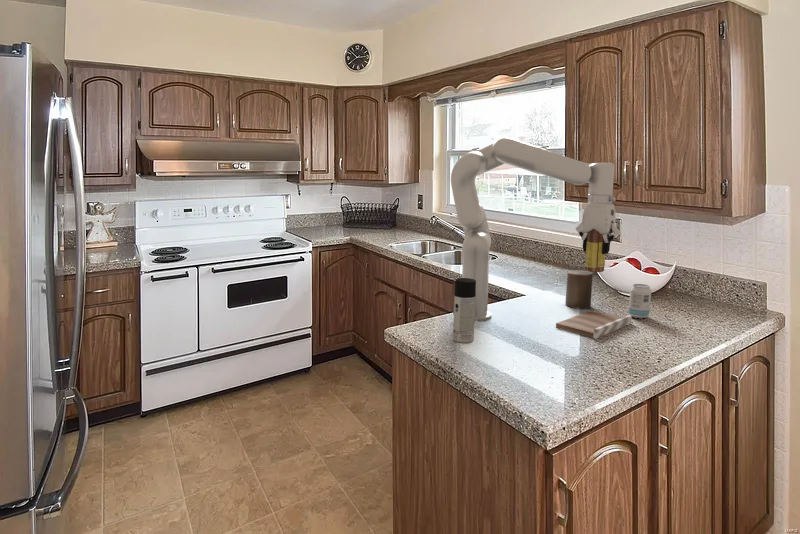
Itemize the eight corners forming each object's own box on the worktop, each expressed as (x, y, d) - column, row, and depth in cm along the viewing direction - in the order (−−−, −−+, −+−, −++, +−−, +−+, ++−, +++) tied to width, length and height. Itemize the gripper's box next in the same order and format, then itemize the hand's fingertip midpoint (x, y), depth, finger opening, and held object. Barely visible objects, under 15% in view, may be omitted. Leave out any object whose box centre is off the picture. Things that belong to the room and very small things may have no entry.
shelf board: (596, 338, 162) (596, 329, 162) (555, 327, 174) (556, 319, 173) (630, 323, 178) (631, 315, 177) (591, 314, 189) (592, 306, 188)
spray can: (459, 335, 166) (460, 276, 162) (477, 339, 162) (479, 279, 158) (449, 340, 160) (450, 280, 156) (468, 345, 157) (470, 283, 153)
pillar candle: (594, 308, 196) (597, 271, 193) (569, 308, 196) (571, 271, 193) (585, 302, 205) (588, 266, 203) (561, 302, 206) (564, 266, 203)
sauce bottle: (602, 269, 175) (607, 213, 171) (605, 273, 169) (611, 214, 165) (582, 268, 176) (587, 212, 172) (585, 272, 170) (590, 214, 166)
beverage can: (647, 315, 188) (650, 284, 185) (649, 320, 181) (653, 288, 179) (627, 313, 190) (630, 282, 187) (629, 318, 183) (632, 287, 181)
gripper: (630, 200, 164) (625, 254, 167) (582, 198, 177) (578, 248, 180) (619, 201, 159) (614, 257, 163) (570, 199, 172) (567, 250, 176)
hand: (595, 252), depth 172 cm, fingers closed on sauce bottle, 6 cm apart
